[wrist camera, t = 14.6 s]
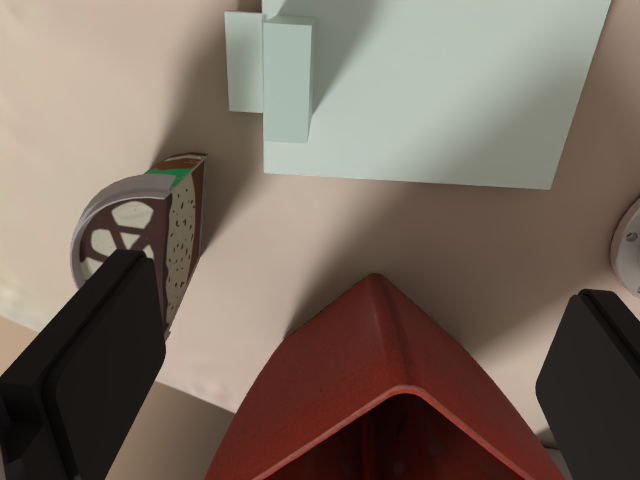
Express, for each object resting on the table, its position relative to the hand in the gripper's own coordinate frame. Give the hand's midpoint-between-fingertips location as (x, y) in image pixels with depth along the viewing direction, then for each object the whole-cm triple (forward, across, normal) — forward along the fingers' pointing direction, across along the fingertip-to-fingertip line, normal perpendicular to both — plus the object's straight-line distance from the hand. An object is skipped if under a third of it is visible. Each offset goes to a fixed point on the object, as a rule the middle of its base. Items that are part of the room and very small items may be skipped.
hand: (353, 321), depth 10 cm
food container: (+24, +14, +9) cm, 30 cm away
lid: (+25, -3, -2) cm, 25 cm away
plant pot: (+25, -4, +23) cm, 34 cm away
